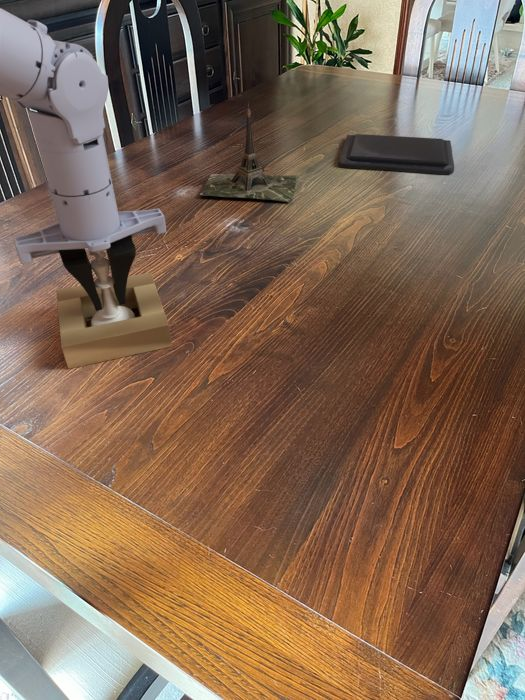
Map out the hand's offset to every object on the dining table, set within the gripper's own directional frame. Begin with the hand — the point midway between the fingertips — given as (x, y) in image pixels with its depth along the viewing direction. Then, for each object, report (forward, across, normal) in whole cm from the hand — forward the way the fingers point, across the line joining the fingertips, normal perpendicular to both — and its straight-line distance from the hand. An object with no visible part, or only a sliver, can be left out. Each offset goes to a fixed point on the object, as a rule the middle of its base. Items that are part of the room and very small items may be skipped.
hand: (108, 302), depth 61 cm
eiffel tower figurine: (+4, +29, +28) cm, 40 cm away
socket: (+3, 0, 0) cm, 3 cm away
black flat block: (+4, +58, +29) cm, 65 cm away
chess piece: (+3, 0, 0) cm, 3 cm away
